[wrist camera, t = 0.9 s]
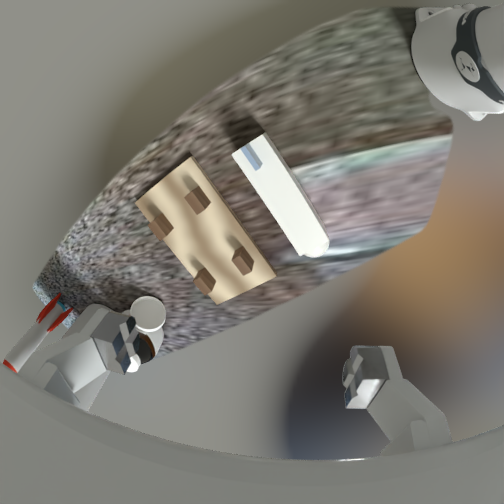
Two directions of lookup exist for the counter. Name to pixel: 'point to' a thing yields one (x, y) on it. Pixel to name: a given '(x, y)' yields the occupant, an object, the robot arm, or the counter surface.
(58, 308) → the toy rocket
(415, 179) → the counter surface
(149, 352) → the spread jar
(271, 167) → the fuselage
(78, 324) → the cylinder vase
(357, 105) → the counter surface
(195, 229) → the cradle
